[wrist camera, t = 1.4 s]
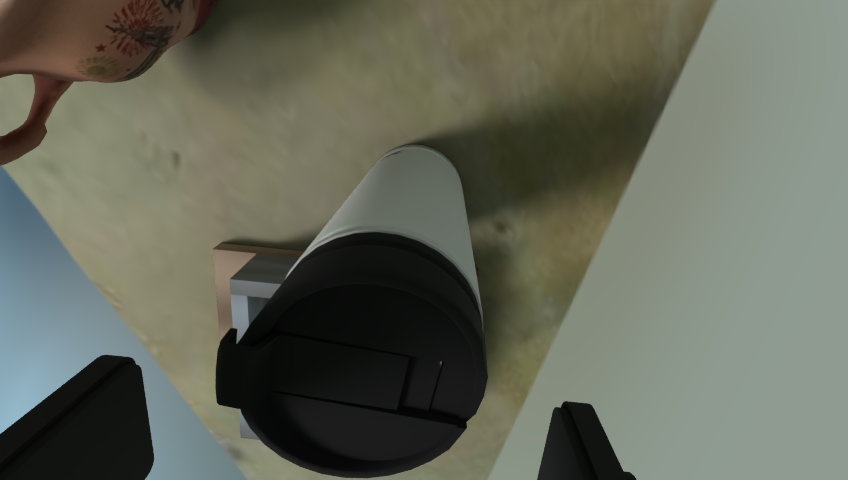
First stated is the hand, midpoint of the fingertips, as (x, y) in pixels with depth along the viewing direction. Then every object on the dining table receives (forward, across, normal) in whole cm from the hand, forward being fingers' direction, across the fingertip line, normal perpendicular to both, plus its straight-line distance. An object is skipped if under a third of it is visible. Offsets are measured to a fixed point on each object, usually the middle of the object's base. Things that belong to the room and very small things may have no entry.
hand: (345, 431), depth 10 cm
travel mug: (+20, 0, -1) cm, 21 cm away
